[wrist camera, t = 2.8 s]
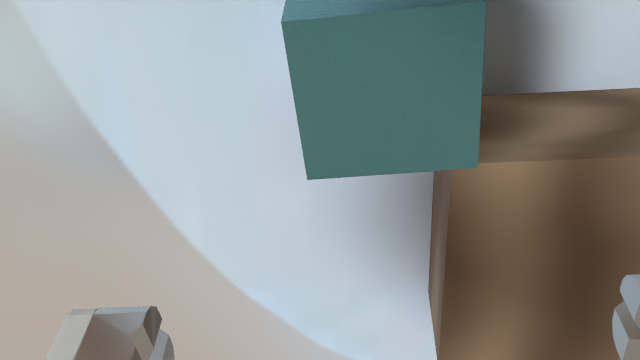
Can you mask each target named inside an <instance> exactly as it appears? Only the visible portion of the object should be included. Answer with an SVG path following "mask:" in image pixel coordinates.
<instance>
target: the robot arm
mask: <svg viewBox="0 0 640 360" xmlns="http://www.w3.org/2000/svg"><path fill="white" fill-rule="evenodd" d="M620 292H621V294H622V297H623V299H624V301H623V302H622V303H620V304H619V305H618V306H617V307H616V308H615V310H614V314H613V319H612V328H613V338H614V342H615V346H616V349H617V352H618V354H619V356H620V359H621V360H640V274H630V275H626V276H625V278H624V279H623V280H622V283H621V287H620ZM161 320H162V318H161V315H160V313H159V311H158V309H157V307H154V306H143V307H118V308H98V309H77V310H72V311H71V312H70V313H69V314H68V315H67V316H66V317H65V319H64V321H63V323H62V325H61V328H60V330H59V332H58V334H57V336H56V338H55V341H54V343H53V345H52V347H51V349H50V352H49V354H48V356H47V358H46V360H174V351H173V345H172V342H171V339H170V337H169V335H168V334H167V333H165V332H164V331H162V330H161V329H159V328H160V324H161Z"/></svg>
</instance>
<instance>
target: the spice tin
mask: <svg viewBox="0 0 640 360" xmlns="http://www.w3.org/2000/svg"><path fill="white" fill-rule="evenodd" d="M485 17H486V0H286V2H285V7H284V11H283V16H282V20H281V24H282V30H283V36H284V42H285V48H286V54H287V60H288V66H289V72H290V78H291V84H292V90H293V96H294V102H295V108H296V114H297V120H298V126H299V132H300V138H301V144H302V150H303V156H304V162H305V168H306V174H307V180H312V179H326V178H341V177H355V176H369V175H384V174H398V173H412V172H427V171H441V170H455V169H469V168H478V157H479V137H480V117H481V97H482V77H483V57H484V37H485Z"/></svg>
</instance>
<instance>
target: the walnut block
mask: <svg viewBox="0 0 640 360" xmlns="http://www.w3.org/2000/svg"><path fill="white" fill-rule="evenodd" d="M630 274H640V88H630V89H609V90H589V91H568V92H547V93H526V94H506V95H485V96H482V97H481V117H480V137H479V157H478V168H469V169H455V170H441V171H434V179H433V201H432V224H431V246H430V268H429V291H428V292H429V300H430V307H431V315H432V322H433V330H434V338H435V345H436V353H437V360H621V359H620V356H619V354H618V352H617V349H616V346H615V342H614V338H613V328H612V319H613V314H614V310H615V308H616V307H617V306H618V305H619V304H620V303H622V302H623V301H624V299H623V297H622V294H621V292H620V287H621V283H622V280H623V279H624V278H625V276H626V275H630Z"/></svg>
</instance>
